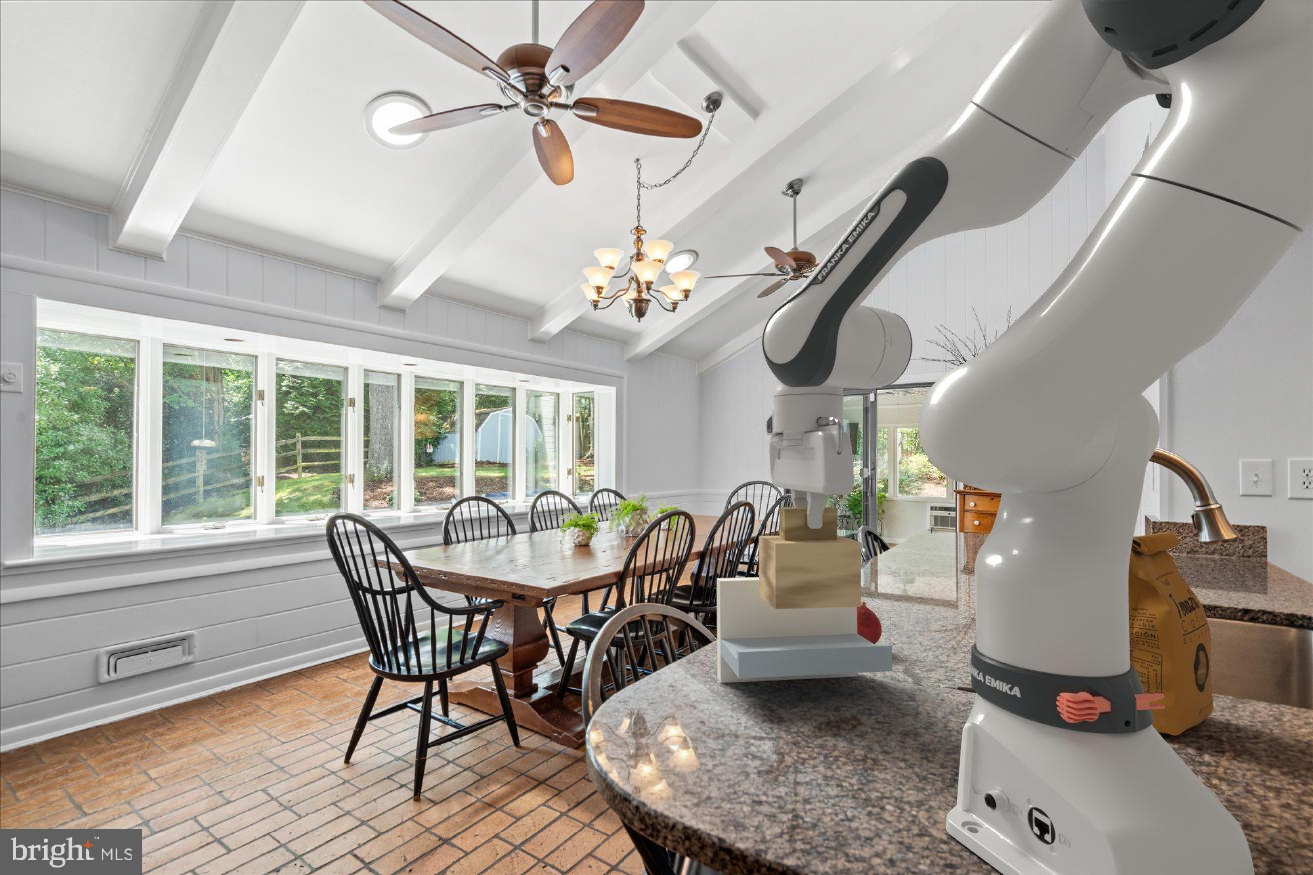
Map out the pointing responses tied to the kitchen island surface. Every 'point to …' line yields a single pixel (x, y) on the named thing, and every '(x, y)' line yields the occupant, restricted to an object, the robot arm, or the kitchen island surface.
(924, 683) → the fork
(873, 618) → the onion
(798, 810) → the kitchen island surface
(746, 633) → the wall shelf
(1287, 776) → the kitchen island surface
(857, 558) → the stacked wooden blocks
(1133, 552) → the coffee package
